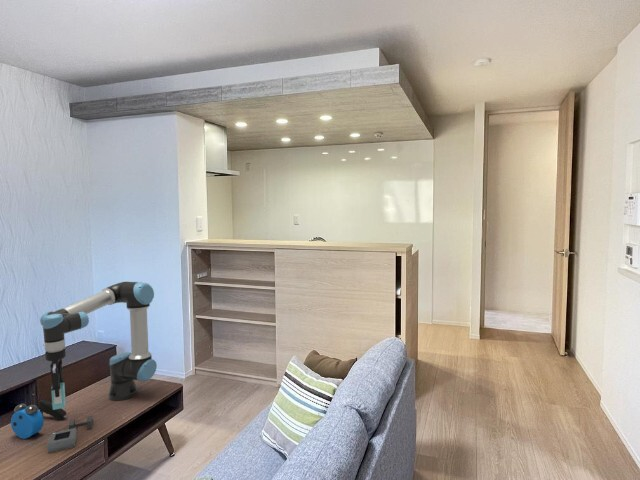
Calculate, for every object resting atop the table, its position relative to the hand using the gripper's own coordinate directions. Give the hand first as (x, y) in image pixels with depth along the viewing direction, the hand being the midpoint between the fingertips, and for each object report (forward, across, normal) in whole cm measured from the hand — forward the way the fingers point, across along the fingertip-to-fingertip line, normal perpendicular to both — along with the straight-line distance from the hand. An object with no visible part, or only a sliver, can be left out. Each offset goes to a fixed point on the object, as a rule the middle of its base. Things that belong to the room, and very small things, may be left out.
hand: (59, 400), depth 186 cm
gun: (+21, -30, -8) cm, 37 cm away
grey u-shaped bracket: (+20, -12, +6) cm, 24 cm away
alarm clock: (+21, -16, -16) cm, 31 cm away
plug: (+3, 0, 0) cm, 3 cm away
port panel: (+20, 0, 0) cm, 20 cm away
